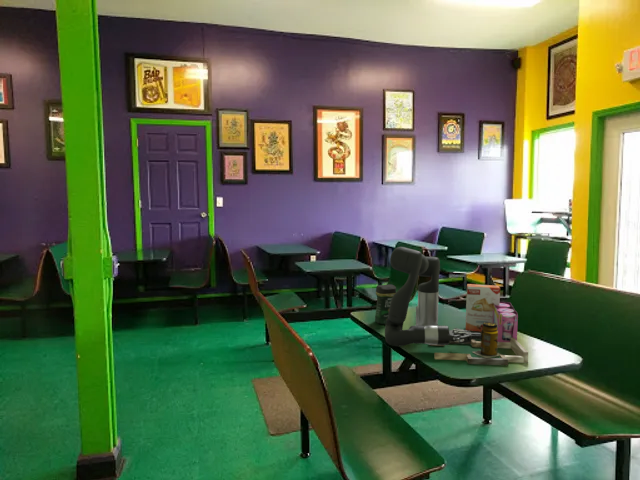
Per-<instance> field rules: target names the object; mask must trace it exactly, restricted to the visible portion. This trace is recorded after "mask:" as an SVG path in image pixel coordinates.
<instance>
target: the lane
mask: <svg viewBox="0 0 640 480" xmlns="http://www.w3.org/2000/svg"><path fill="white" fill-rule="evenodd" d="M449 344H451V345H453V344H454V345H456V344H457V345H458V344H459V345H461V344H460V343H459V342H454V341H449ZM462 345H471V347H472V348H481V340H480V341H478V340H474V339H472V340H471V342H467V343H463V344H462ZM497 345H498V346H497V349H511V350H512V351H513V352H514V354H515V355H506V354H502V355H499V358H498V357H496V358H495V357H490V358H485V357H475V356H474V357H473V356H472V355H471V353H457V352H456V353H454V352H434V353H433V354H434V358H433V359H434V360H446V361H447V360H449V361H466V363H467V364H468V365H484V366H485V365H488V366H509V363H523V364H524V363H529V351H528V350H527V349H526V347H524V346H523V345H522V344H521V342H519V341H518V339H517V340H516V339H515V338H510V342H498V344H497ZM429 346H432V347H434V346H435V347H446V345H429Z"/></svg>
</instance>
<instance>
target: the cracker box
mask: <svg viewBox="0 0 640 480" xmlns="http://www.w3.org/2000/svg"><path fill="white" fill-rule="evenodd" d="M500 299H501V287H500V285H491V284H490V285H489V284H476V283H467V285H466V299H465V300H466V301H465V302H466V303H465V304H466V305H465V325H464V326H465V330H467V331H469V332H477V333H481V331H482V329H483V328H482V327H483V323H484V322H492V323H493V306H494V304H495V305H499V304H500V302H501V301H500Z"/></svg>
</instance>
